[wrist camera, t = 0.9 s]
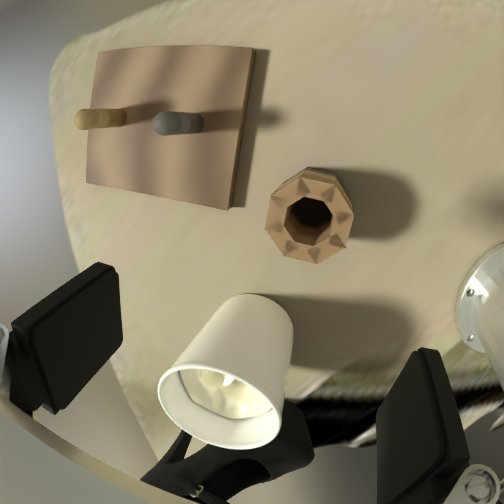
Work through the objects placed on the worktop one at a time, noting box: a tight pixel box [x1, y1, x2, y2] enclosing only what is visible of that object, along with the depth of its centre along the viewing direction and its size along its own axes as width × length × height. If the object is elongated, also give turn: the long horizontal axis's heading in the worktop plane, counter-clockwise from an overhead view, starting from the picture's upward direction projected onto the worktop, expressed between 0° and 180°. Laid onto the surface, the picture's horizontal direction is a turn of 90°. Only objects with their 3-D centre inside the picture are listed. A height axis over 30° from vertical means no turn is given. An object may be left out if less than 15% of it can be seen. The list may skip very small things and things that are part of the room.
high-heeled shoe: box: [140, 400, 315, 504], centre depth 28 cm, size 8×19×20 cm, turn 106°
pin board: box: [74, 46, 256, 210], centre depth 24 cm, size 16×14×7 cm
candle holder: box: [158, 294, 294, 449], centre depth 27 cm, size 10×10×12 cm
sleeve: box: [265, 167, 354, 264], centre depth 24 cm, size 6×6×6 cm
